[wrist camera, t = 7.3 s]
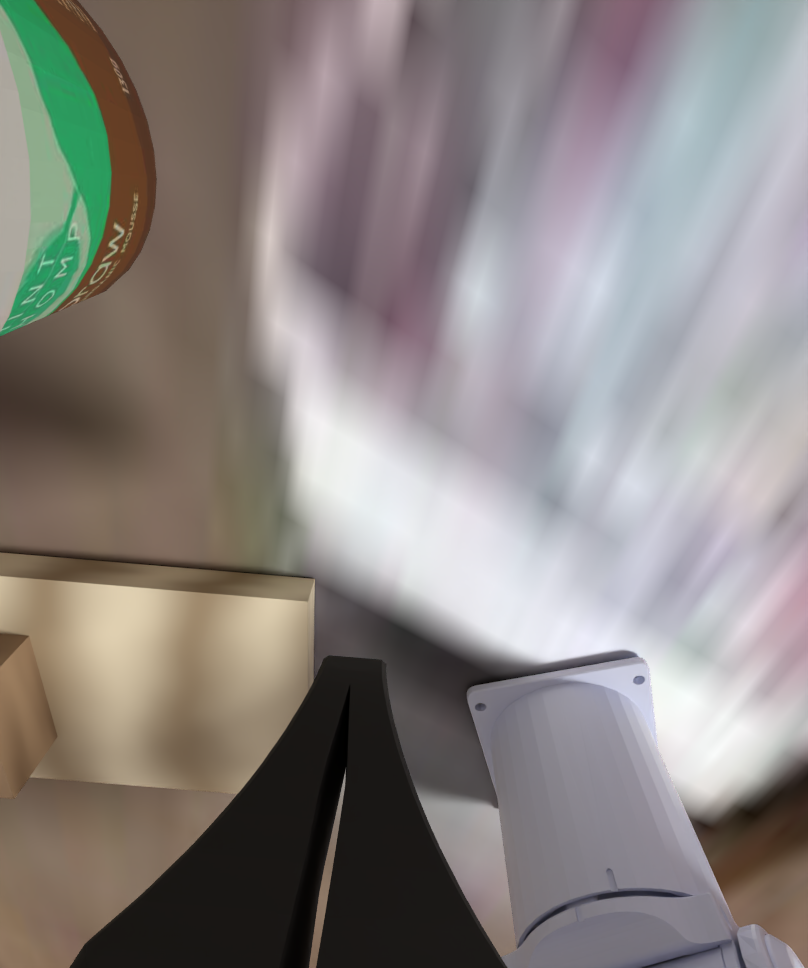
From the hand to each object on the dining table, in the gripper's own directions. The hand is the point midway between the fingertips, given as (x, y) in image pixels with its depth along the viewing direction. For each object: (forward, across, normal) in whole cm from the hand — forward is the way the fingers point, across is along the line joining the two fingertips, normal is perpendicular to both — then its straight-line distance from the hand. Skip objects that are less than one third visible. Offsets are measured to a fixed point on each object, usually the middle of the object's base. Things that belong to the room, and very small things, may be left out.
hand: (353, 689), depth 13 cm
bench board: (+9, +14, +10) cm, 19 cm away
